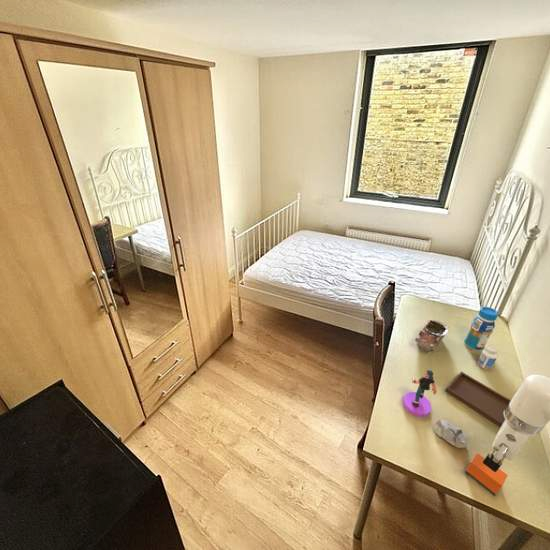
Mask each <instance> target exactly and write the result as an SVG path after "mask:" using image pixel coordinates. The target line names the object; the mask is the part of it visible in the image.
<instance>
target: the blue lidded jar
mask: <svg viewBox="0 0 550 550" xmlns="http://www.w3.org/2000/svg"><path fill="white" fill-rule="evenodd" d="M498 316H499V312H498V311H497V310H496V309H494V308H492V307H490V306H482V307H480V309H479V310H478V313H477V315H476V316H475V317H474V318H473V319H472V320H473V321H472V322H471V323H470V327H469V329H468V332H467V334H466V336H465V337H464V340H463V343H464V345H465V346H466V347H467V348H469V349H471V350H473V351H478V352H480V351H481V352H482V351H483V349H485V348H486V346H487V345H486V344H487V342H488V340H489V338H490V337H491V335H492V334H493V332H494V329H495V327H496V324H495V321H496V320H497V319H498Z"/></svg>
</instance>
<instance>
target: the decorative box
mask: <svg viewBox="0 0 550 550" xmlns="http://www.w3.org/2000/svg"><path fill="white" fill-rule="evenodd" d="M449 328H450V326H448V325H447V324H445V323H444V322H442V321H440V320H436V319H433V318H431V319H427V320H426V321H425V323H424V325H423V328H422V329H421V330H419V333H418V334H417V335H416V337H415V339H414V341H415V342H416V346H417V347H418V348H420V350H421V351H426V352H431V351H435V350H436V348H437V347H438V345H439V344H440V343H441V342H442V340H444V338H445V337H446V335H447V333H448V332H449Z"/></svg>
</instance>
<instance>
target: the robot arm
mask: <svg viewBox="0 0 550 550" xmlns="http://www.w3.org/2000/svg"><path fill="white" fill-rule="evenodd" d="M510 400H511V401H510V403H509V404H508V406H507V407H506V409H505V410H504V417H505V419H506V420H505V421H504V423H503V425H502V426H501V428H500V427H499V430H498V432H497V433H496V435H495V438H494V440H493V442H492V444H491V448H492V450H491V452H490V453H488V454H486V457H484V458H485V459H484V461H483V464H485V465H486V466H487V467H489V468H490V469H491V470H492V471H494V472H496V471H497V470H498V469H500V468H501V466H502V465H503V462H504V460H505V459H506V460H508V461H509V462H512V461H514V459H515V458H516V456H517V455H518V454H519V452H520V451H521V449H522V448H523V447H524V446H525V444H526V443H527V442H528V440H529V439H530V437H535V436H538V435H539V434H540V433H541V432H542V431H543V429H544V428H545V427H546V426H547V425H548V423H549V422H550V377H548V376H545V375H542V374H530V375H529V376H527V377H526V378H525V379H524V381H523V382H522V383H521V386H520V387H519V388H518V390H517V391H516V393H515V394H514V395H513V397H512V398H511V399H510Z"/></svg>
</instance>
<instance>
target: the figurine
mask: <svg viewBox="0 0 550 550" xmlns="http://www.w3.org/2000/svg"><path fill="white" fill-rule="evenodd" d="M411 381H412V384H418V387H417V390H416V391H408V392H407V393H405V394H404V396H403V399H402V405H403V407H404V409H405V411H407V413H409V414H411V415H412V416H414V417H416V418H427V417H428V416H429V415H430V413H431V411H432V404H431V403H430V400H429V399H428V398H427V397H426V396H425V391H430V390H431V392H432V394H433V395H434V396H435V395H436V394H437V393H438V389H437V386H436V385H437V384H436V381H435V380H434V371H433V370H432V369H427V370H426V372H425V374H424V376H422V377H421V378H419V379H418V380H417V379H416V378H413V377H412V378H411ZM431 386H432V387H431ZM431 388H432V389H431Z"/></svg>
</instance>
